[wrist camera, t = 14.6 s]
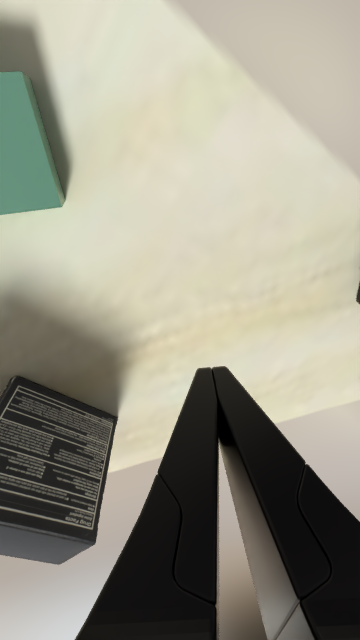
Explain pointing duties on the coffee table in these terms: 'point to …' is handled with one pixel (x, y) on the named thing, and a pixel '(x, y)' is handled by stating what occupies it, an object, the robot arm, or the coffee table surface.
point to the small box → (50, 472)
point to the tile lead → (24, 151)
